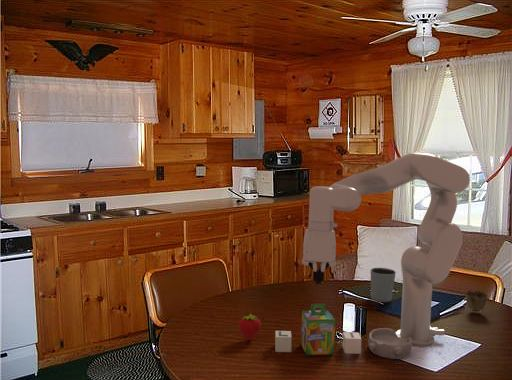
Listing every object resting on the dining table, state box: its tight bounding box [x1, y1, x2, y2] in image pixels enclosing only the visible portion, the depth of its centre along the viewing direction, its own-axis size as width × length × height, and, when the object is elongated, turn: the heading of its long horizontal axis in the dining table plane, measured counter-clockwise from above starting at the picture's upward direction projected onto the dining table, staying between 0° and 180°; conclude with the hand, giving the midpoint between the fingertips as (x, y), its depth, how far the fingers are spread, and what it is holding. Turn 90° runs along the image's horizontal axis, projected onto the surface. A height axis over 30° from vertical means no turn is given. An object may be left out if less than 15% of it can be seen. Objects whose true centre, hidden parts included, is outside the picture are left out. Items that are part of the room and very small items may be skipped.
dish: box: [367, 327, 413, 360], centre depth 167 cm, size 14×14×5 cm
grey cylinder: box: [370, 267, 397, 303], centre depth 217 cm, size 10×10×12 cm
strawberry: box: [238, 312, 262, 341], centre depth 173 cm, size 6×8×10 cm
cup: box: [466, 290, 488, 315], centre depth 201 cm, size 8×7×8 cm
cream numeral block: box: [342, 331, 362, 355], centre depth 167 cm, size 5×5×5 cm
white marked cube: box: [274, 330, 293, 353], centre depth 167 cm, size 5×5×5 cm
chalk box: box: [300, 303, 336, 356], centre depth 166 cm, size 9×9×15 cm
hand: (317, 282), depth 164 cm, fingers closed
